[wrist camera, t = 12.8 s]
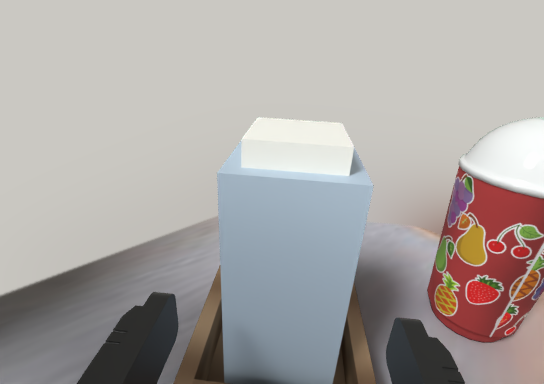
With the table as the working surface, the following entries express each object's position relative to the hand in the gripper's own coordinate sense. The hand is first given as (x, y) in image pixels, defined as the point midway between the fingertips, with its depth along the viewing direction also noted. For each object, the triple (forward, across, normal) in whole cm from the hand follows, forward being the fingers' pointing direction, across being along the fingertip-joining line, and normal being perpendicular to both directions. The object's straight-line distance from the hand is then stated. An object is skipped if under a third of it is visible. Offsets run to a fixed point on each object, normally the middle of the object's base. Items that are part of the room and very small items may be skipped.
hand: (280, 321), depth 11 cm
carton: (+6, 0, +10) cm, 12 cm away
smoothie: (+13, -16, +12) cm, 24 cm away
